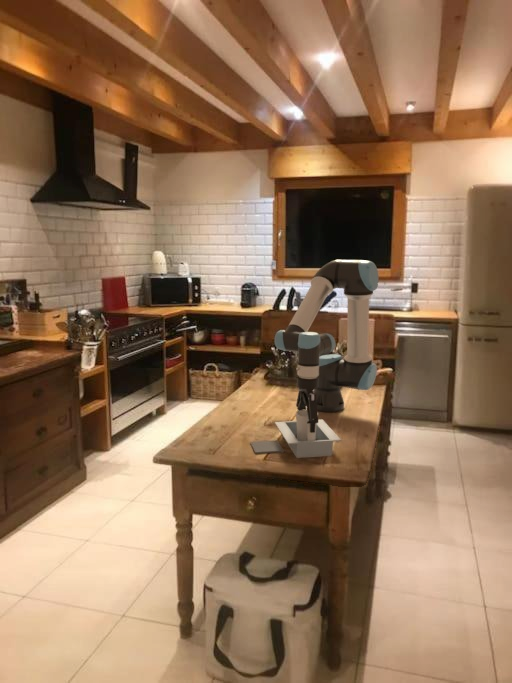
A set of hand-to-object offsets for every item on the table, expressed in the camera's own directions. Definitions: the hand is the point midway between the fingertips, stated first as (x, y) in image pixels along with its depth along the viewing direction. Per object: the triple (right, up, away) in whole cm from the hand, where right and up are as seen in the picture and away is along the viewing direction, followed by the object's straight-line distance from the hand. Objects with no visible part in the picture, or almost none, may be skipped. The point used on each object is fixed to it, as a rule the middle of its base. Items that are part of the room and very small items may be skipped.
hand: (306, 434), depth 199 cm
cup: (0, -4, +1) cm, 5 cm away
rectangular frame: (0, -4, +1) cm, 4 cm away
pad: (-14, -5, -2) cm, 15 cm away
